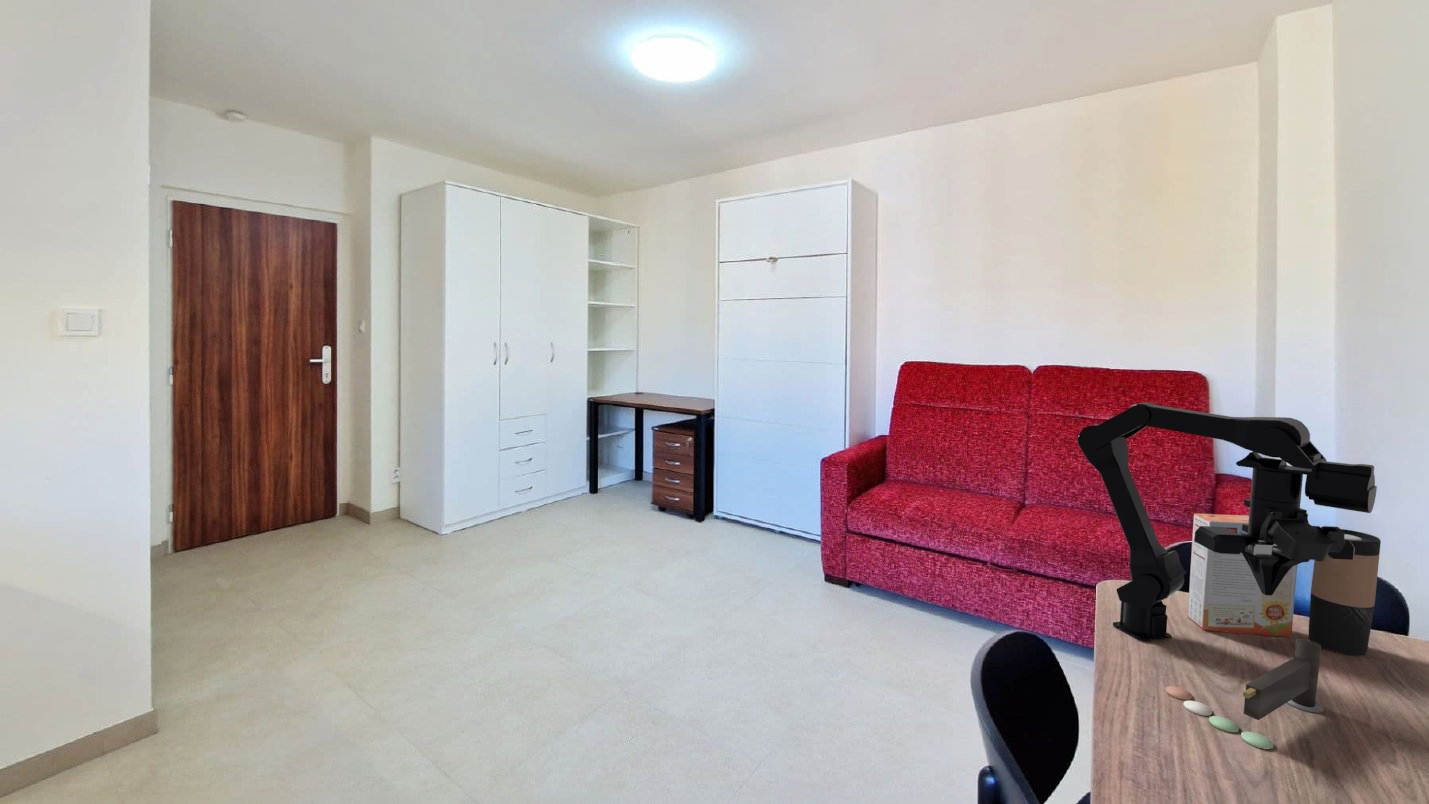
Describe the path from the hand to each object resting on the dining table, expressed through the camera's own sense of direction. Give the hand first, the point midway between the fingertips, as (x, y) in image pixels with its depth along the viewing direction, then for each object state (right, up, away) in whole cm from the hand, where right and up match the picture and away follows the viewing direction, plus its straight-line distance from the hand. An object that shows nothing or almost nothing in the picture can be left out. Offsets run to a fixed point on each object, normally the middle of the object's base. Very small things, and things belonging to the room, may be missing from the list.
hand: (1266, 594), depth 95 cm
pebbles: (-9, -14, -8) cm, 19 cm away
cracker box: (+10, -12, +17) cm, 22 cm away
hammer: (-9, -14, -11) cm, 20 cm away
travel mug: (+21, -12, +10) cm, 26 cm away
